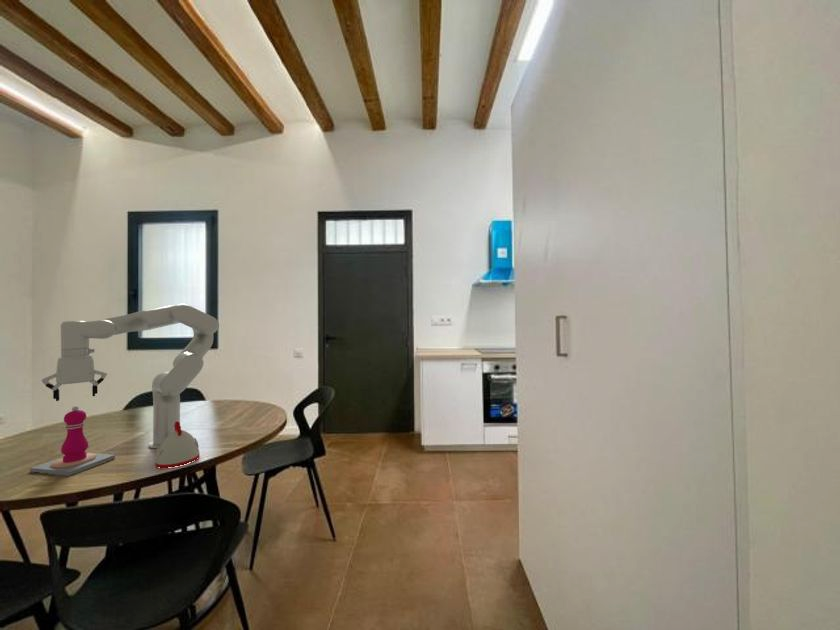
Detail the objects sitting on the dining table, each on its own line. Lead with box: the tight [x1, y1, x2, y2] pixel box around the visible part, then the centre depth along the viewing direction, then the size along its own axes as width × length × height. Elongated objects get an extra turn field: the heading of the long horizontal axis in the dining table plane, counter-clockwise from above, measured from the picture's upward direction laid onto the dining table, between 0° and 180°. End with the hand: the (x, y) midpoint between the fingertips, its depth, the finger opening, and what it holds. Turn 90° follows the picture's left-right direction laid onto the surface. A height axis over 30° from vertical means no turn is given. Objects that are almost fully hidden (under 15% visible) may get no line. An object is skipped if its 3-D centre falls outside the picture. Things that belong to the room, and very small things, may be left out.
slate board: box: [29, 451, 116, 477], centre depth 127 cm, size 18×15×2 cm
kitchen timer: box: [155, 421, 200, 468], centre depth 130 cm, size 14×14×15 cm
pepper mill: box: [60, 406, 89, 463], centre depth 127 cm, size 7×7×20 cm
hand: (76, 398), depth 128 cm, fingers open, 9 cm apart
